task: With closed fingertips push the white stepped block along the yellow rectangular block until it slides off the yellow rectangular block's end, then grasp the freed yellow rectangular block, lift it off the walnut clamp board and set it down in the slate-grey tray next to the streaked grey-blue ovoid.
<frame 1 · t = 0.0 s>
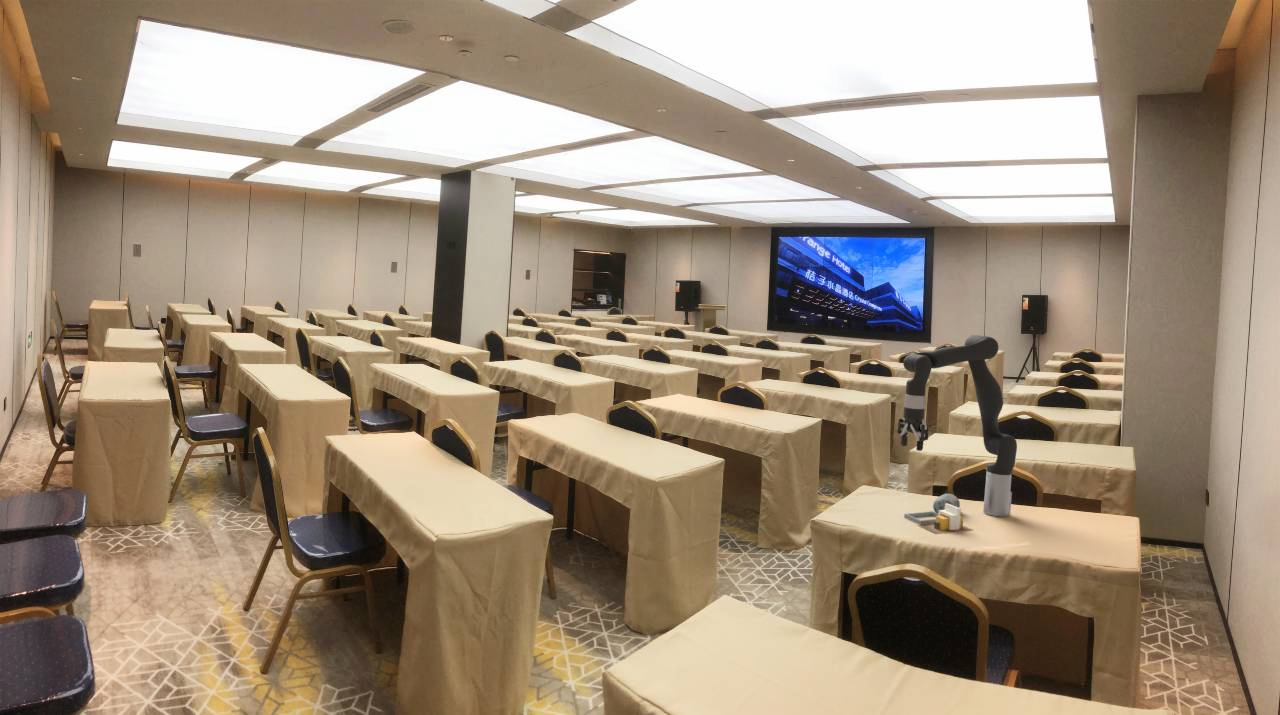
hand: (911, 448, 279), 29 cm above the table, fingers open, 8 cm apart
yellow rectangular block: (948, 527, 273), point 1 cm above the table, touching clamp board
tray: (926, 522, 282), on the table
white stepped block: (949, 516, 273), point 5 cm above the table, slide at 0.0 cm
clamp board: (944, 530, 273), on the table
streaked grey-blue ovoid: (945, 515, 293), on the table
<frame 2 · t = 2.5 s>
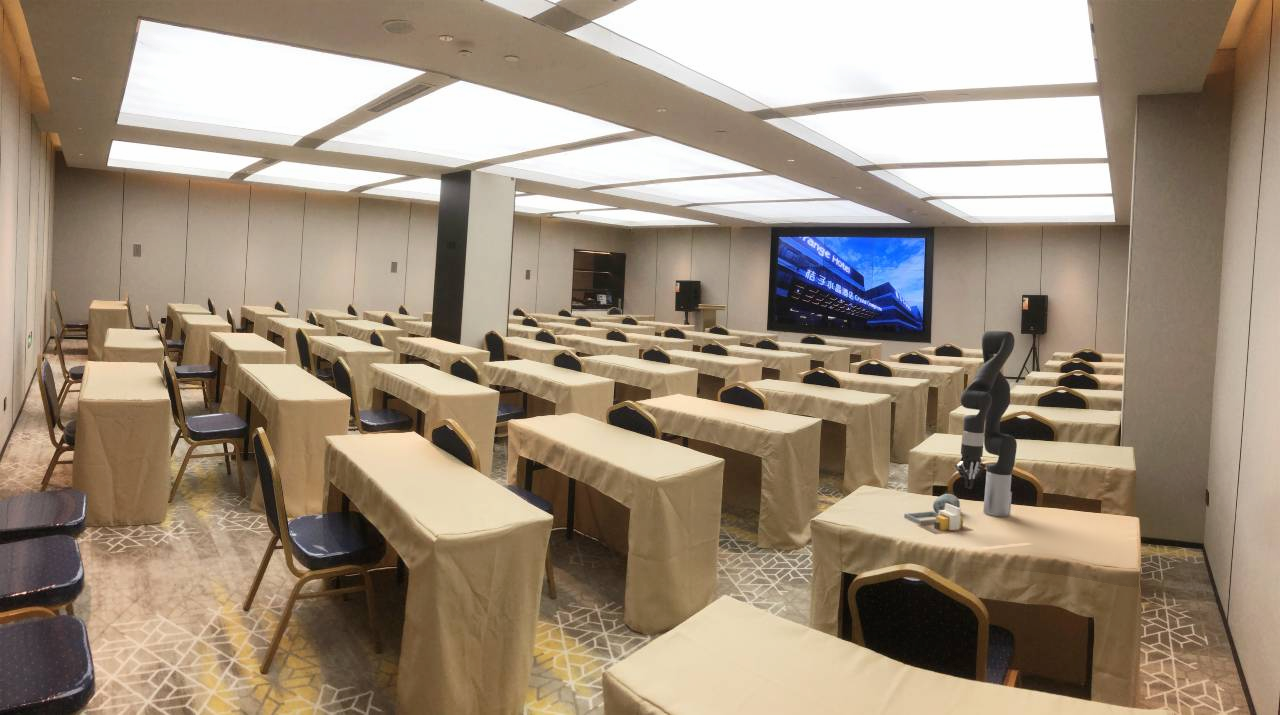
hand: (968, 488, 275), 16 cm above the table, fingers closed
nothing on the table moved.
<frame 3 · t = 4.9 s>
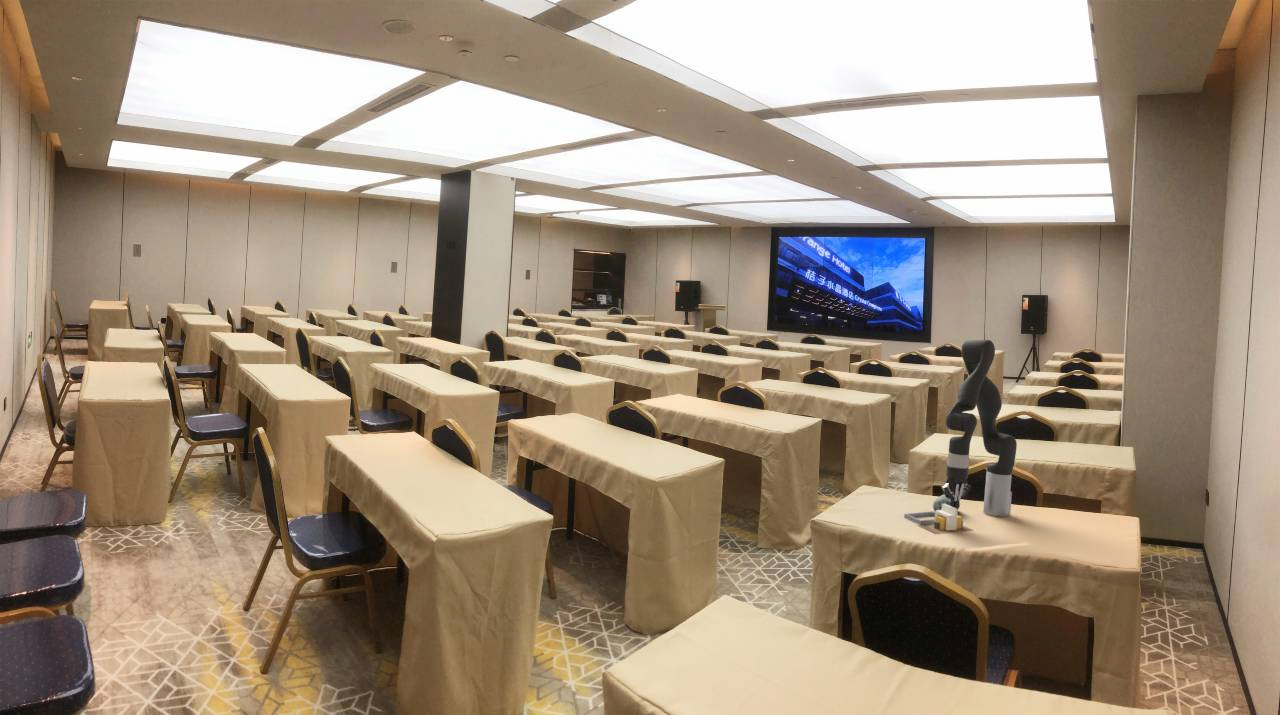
hand: (954, 509, 273), 8 cm above the table, fingers closed
white stepped block: (945, 516, 273), point 5 cm above the table, slide at 1.5 cm, touching gripper
everything else where it was.
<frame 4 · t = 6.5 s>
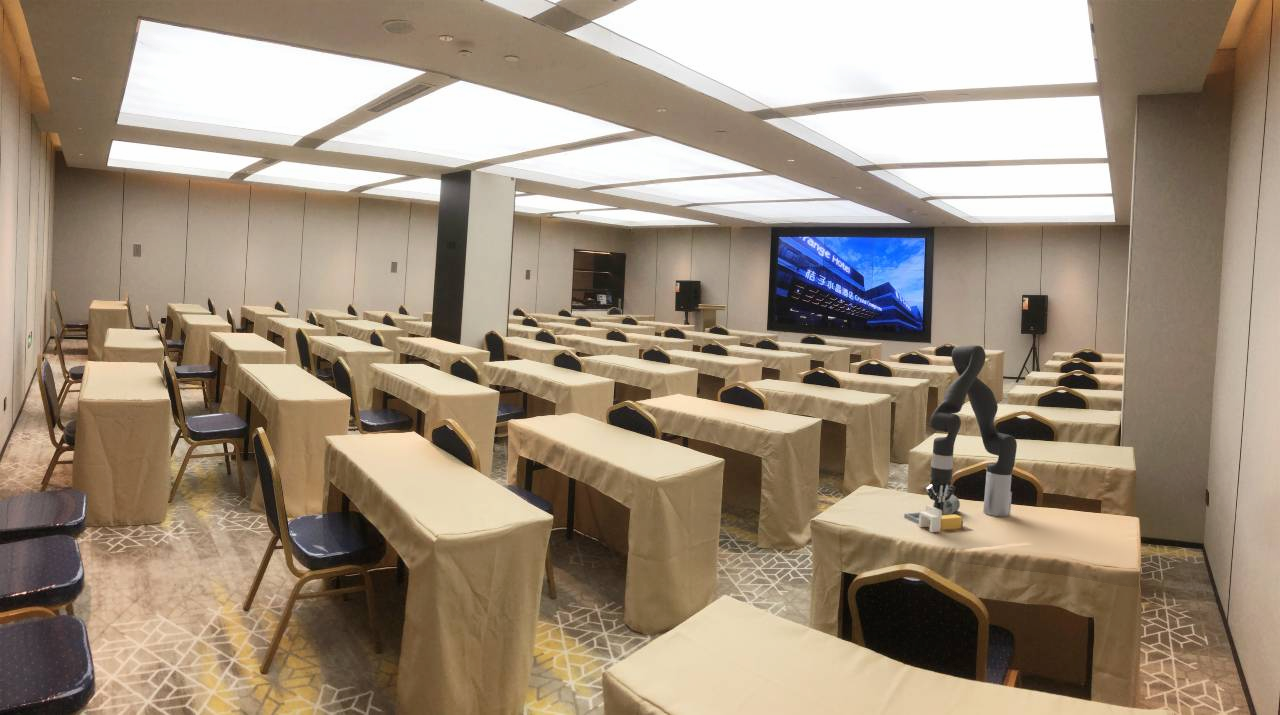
hand: (938, 511, 271), 8 cm above the table, fingers closed
white stepped block: (930, 518, 270), point 5 cm above the table, slide at 8.9 cm, touching gripper
everything else where it was.
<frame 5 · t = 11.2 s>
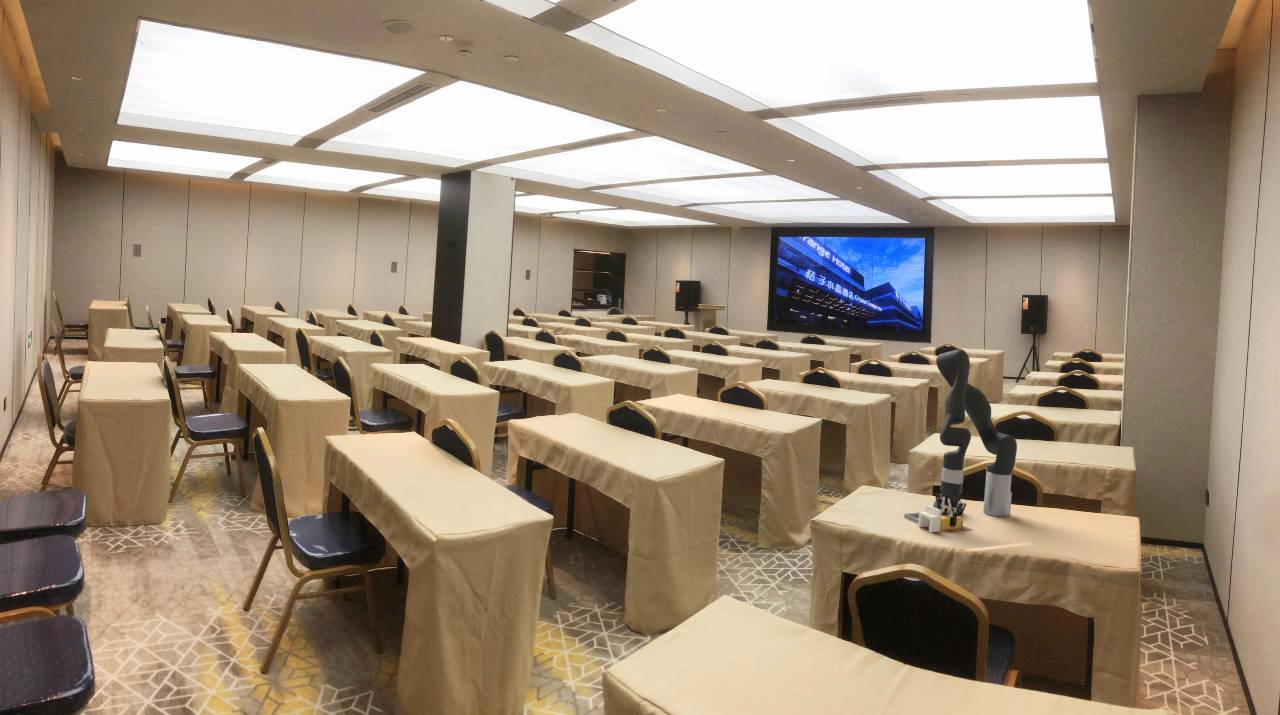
hand: (948, 524, 273), 2 cm above the table, fingers closed on yellow rectangular block, 3 cm apart
yellow rectangular block: (948, 527, 273), point 1 cm above the table, touching clamp board, gripper
white stepped block: (929, 518, 270), point 5 cm above the table, slide at 9.1 cm
everything else where it was.
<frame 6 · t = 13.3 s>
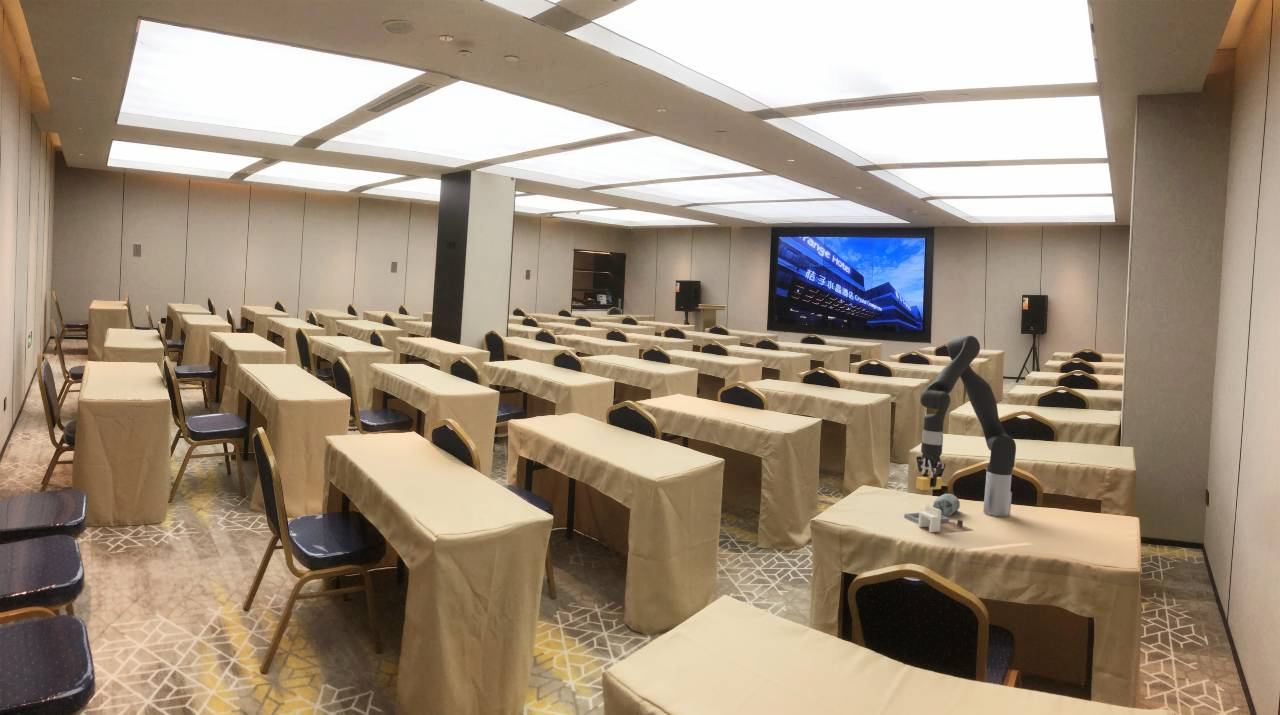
hand: (928, 485, 281), 15 cm above the table, fingers closed on yellow rectangular block, 3 cm apart
yellow rectangular block: (928, 488, 281), point 13 cm above the table, touching gripper
everything else where it was.
when the fingers open (3 cm above the table, at t = 15.7 s): yellow rectangular block stays where it is, resting on tray.
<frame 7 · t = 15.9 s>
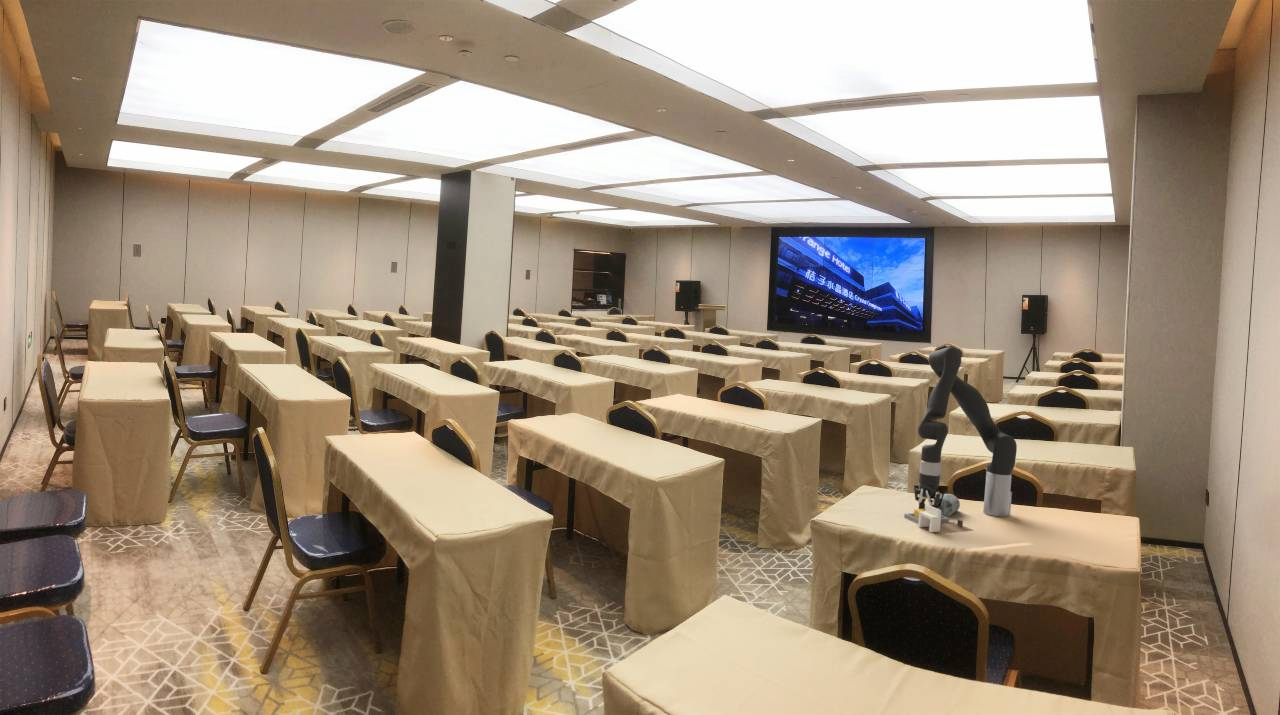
hand: (926, 514, 282), 3 cm above the table, fingers open, 5 cm apart
yellow rectangular block: (926, 520, 282), point 1 cm above the table, touching tray
everything else where it was.
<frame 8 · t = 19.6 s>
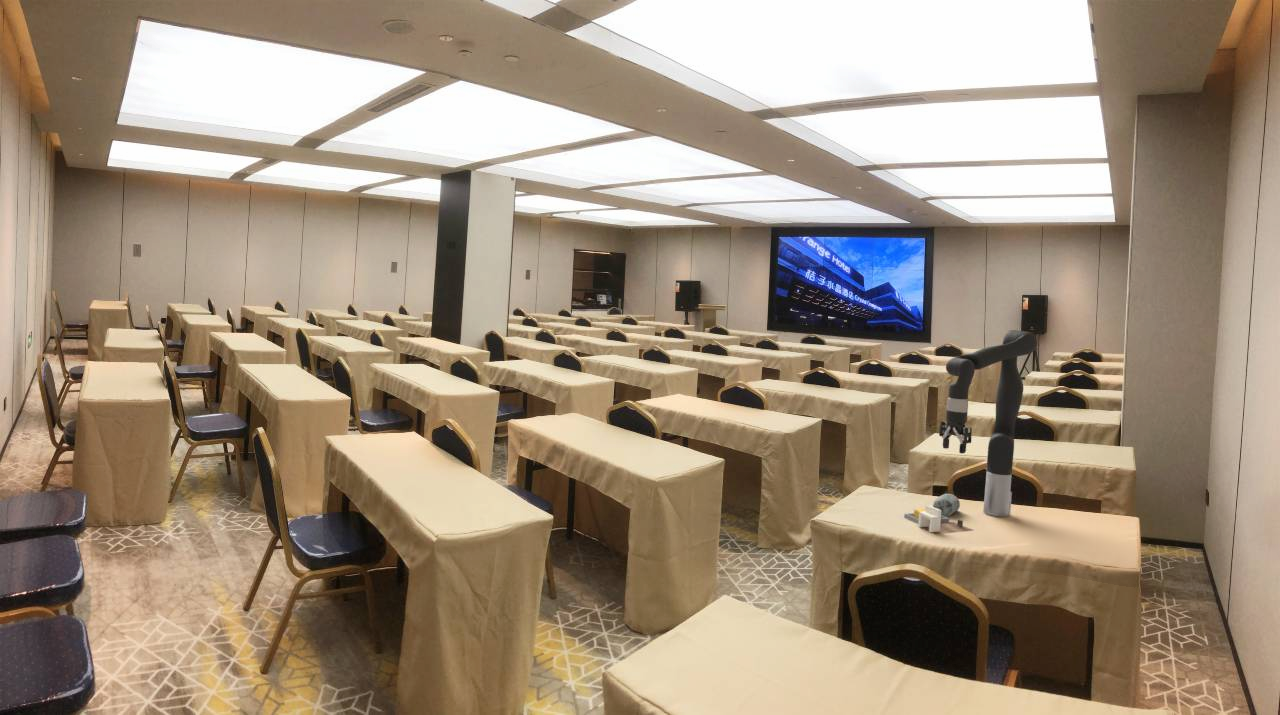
hand: (953, 450, 282), 28 cm above the table, fingers open, 8 cm apart
nothing on the table moved.
at the end: white stepped block slide at 9.1 cm; yellow rectangular block inside the target area on the tray (0.0 cm from its centre), point 0.6 cm above the tray's base; the gripper is holding nothing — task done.
